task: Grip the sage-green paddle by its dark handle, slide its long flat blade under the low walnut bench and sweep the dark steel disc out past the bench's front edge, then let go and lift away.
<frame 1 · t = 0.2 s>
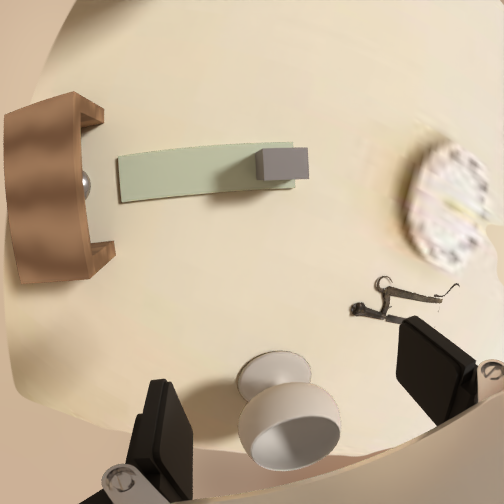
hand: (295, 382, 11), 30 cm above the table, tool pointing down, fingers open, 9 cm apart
bench: (74, 186, 35), on the table
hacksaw: (412, 297, 47), on the table
paddle: (273, 165, 39), on the table
steel disc: (75, 186, 36), on the table
chalice: (274, 379, 47), on the table
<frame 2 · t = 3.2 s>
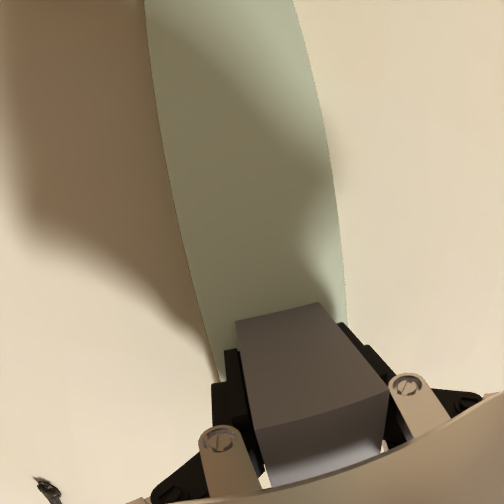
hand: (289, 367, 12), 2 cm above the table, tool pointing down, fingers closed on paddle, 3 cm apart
paddle: (280, 349, 14), on the table, touching gripper
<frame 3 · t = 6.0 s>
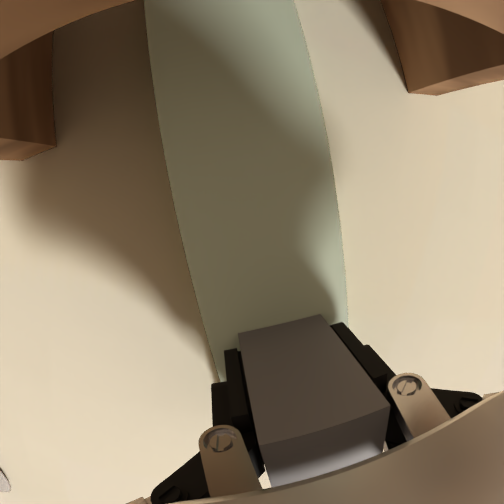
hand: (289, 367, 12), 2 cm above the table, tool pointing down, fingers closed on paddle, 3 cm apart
bench: (223, 1, 10), on the table
paddle: (282, 359, 14), on the table, touching gripper
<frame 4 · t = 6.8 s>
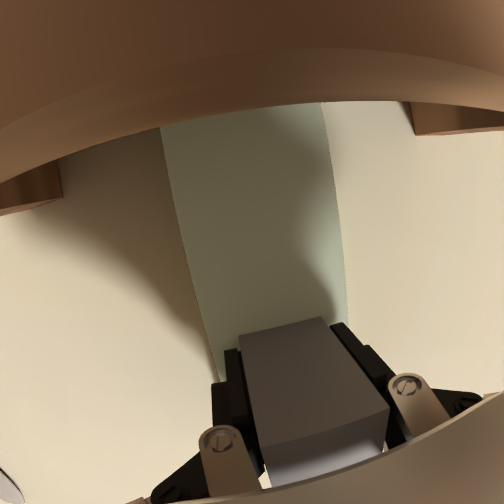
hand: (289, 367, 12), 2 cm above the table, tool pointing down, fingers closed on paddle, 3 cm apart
bench: (228, 40, 10), on the table
paddle: (282, 360, 14), on the table, touching gripper
when the fingers open (2 cm above the table, at t = 7.9 s): paddle stays where it is, on the table.
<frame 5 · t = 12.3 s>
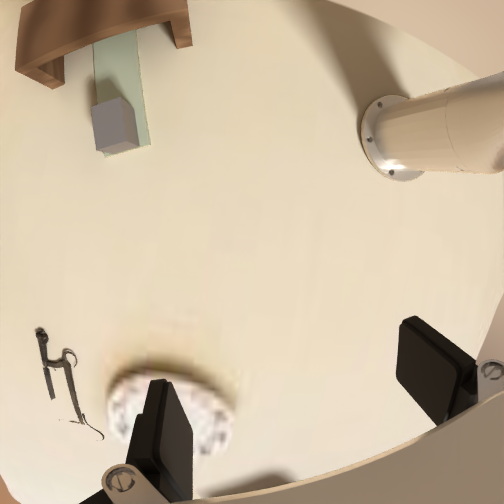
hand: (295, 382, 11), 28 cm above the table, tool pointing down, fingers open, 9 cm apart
bench: (115, 35, 29), on the table
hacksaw: (72, 390, 41), on the table
paddle: (125, 132, 33), on the table
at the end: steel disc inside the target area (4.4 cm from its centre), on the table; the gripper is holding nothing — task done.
